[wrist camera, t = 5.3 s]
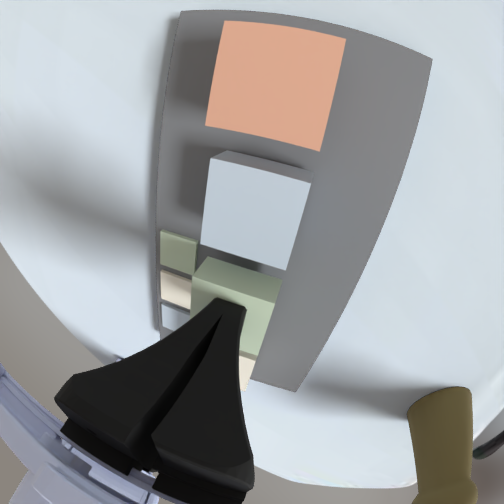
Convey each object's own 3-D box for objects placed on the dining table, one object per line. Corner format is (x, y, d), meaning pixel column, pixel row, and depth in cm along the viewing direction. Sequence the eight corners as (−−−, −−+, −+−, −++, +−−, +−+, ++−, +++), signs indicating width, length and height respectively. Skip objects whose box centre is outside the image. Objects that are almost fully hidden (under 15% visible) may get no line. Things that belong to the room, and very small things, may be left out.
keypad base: (298, 380, 18) (295, 394, 17) (166, 335, 19) (159, 346, 18) (424, 62, 7) (434, 58, 6) (191, 16, 9) (178, 10, 8)
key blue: (291, 249, 12) (285, 270, 10) (215, 226, 12) (200, 243, 11) (313, 172, 10) (311, 183, 8) (227, 150, 10) (210, 158, 9)
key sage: (265, 332, 14) (257, 355, 12) (202, 310, 14) (189, 331, 13) (282, 279, 12) (274, 303, 10) (207, 256, 12) (192, 276, 11)
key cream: (252, 371, 17) (244, 391, 15) (201, 353, 17) (191, 372, 16) (263, 338, 15) (255, 361, 13) (204, 318, 15) (193, 338, 14)
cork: (393, 418, 18) (383, 535, 9) (440, 381, 15) (447, 521, 6) (438, 425, 18) (438, 526, 9) (483, 391, 14) (497, 506, 5)
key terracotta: (321, 144, 8) (319, 151, 7) (224, 121, 9) (205, 125, 8) (343, 50, 7) (346, 39, 5) (241, 32, 7) (224, 20, 6)
